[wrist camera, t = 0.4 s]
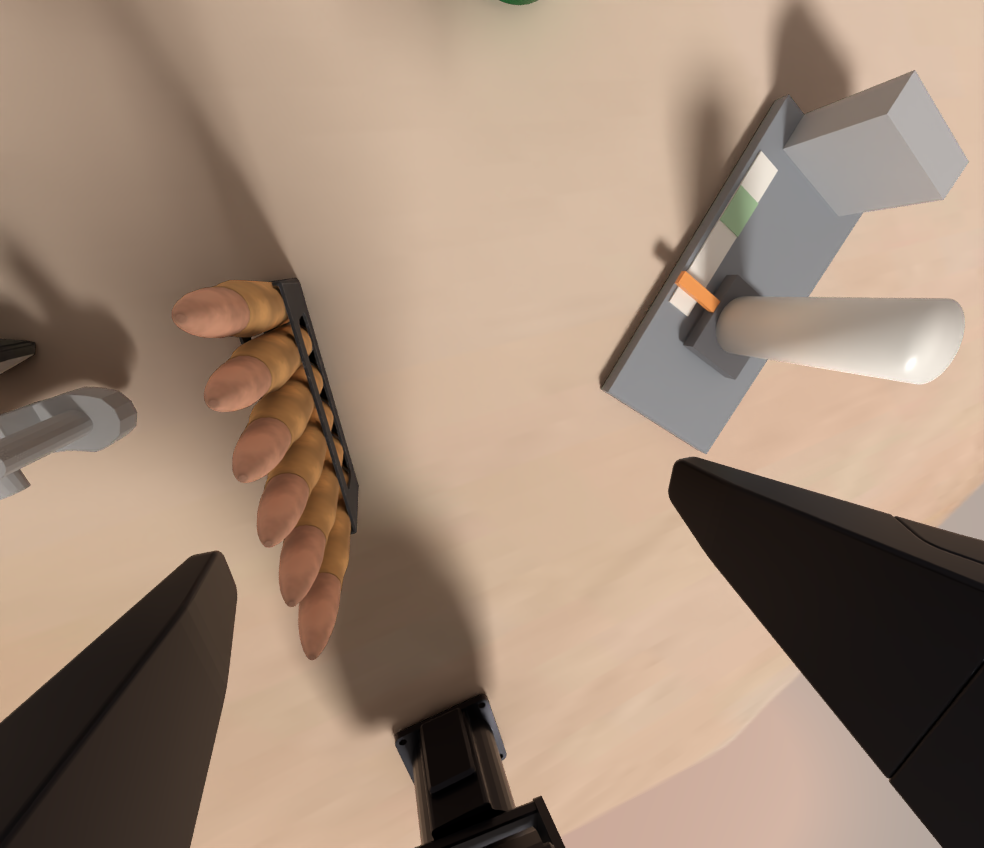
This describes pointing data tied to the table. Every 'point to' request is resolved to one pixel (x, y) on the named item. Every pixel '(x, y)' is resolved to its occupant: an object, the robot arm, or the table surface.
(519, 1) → the soda can
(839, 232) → the gauge board
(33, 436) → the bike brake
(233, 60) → the table surface
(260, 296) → the ammunition clip
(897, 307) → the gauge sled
